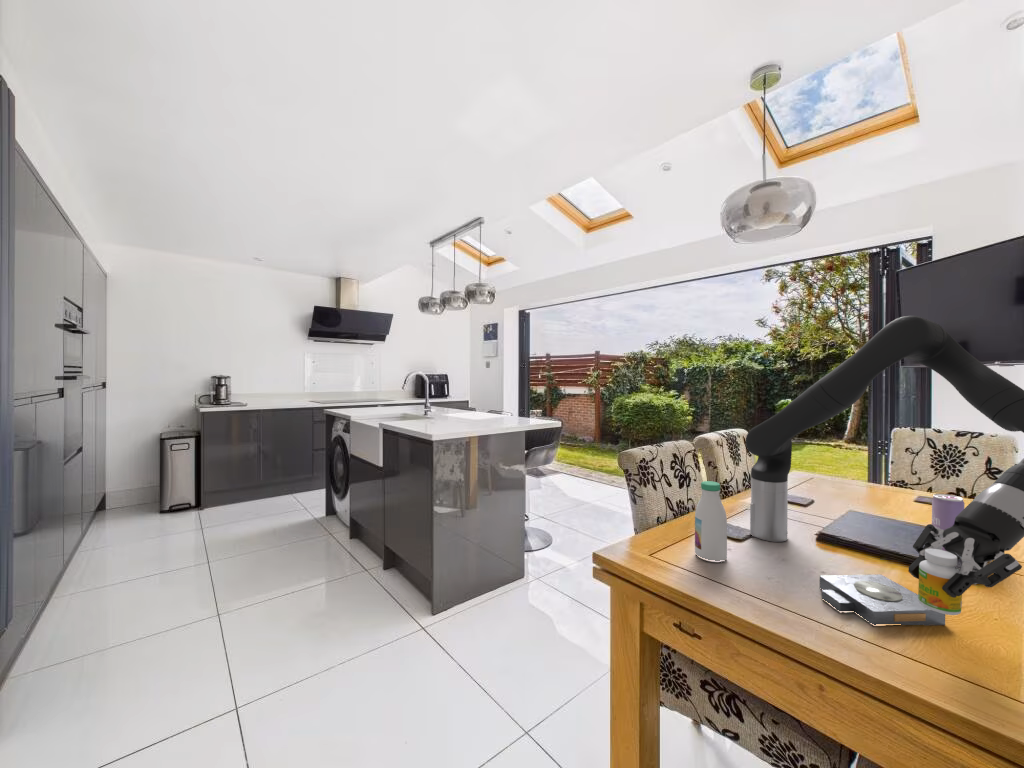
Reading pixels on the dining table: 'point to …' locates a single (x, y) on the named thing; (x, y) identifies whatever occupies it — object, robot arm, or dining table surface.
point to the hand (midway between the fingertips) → (930, 583)
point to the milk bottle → (710, 524)
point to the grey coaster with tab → (877, 600)
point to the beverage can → (945, 510)
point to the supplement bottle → (938, 582)
